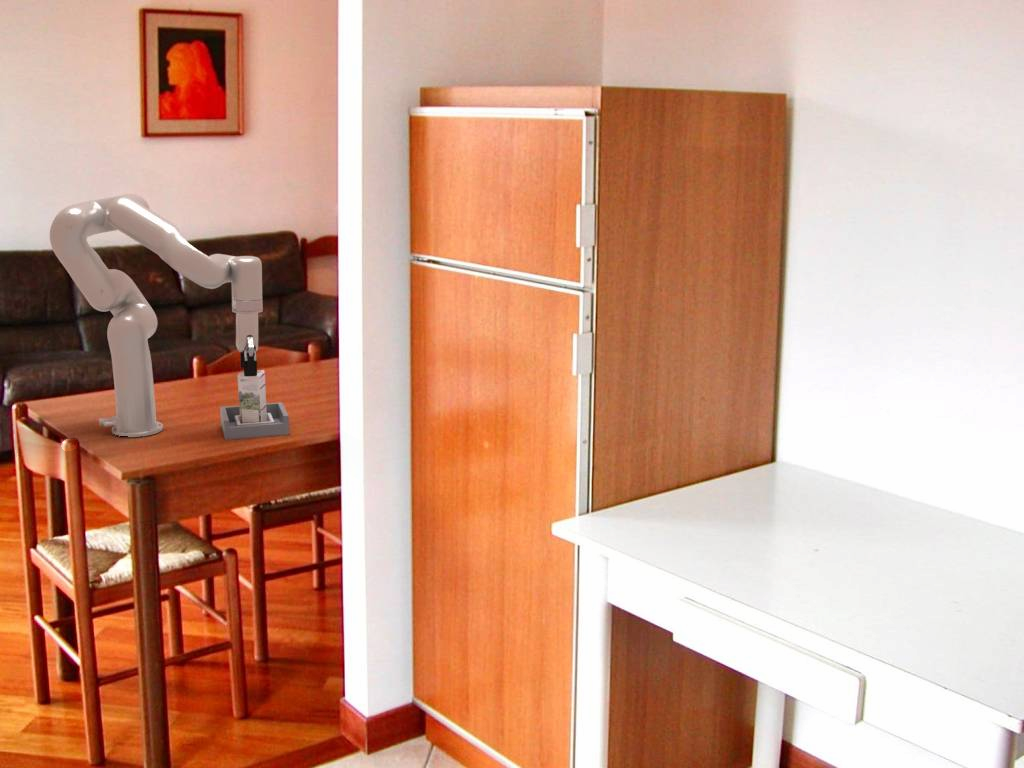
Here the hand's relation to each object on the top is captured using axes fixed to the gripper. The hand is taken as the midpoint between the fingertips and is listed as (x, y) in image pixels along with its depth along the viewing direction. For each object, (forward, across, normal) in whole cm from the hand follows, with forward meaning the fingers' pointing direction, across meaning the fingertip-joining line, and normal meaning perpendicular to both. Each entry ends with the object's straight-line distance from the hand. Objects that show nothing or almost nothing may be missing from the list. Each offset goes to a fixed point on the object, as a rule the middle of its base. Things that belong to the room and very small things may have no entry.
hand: (248, 371), depth 301 cm
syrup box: (+15, 0, +1) cm, 15 cm away
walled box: (+16, 0, +1) cm, 16 cm away
